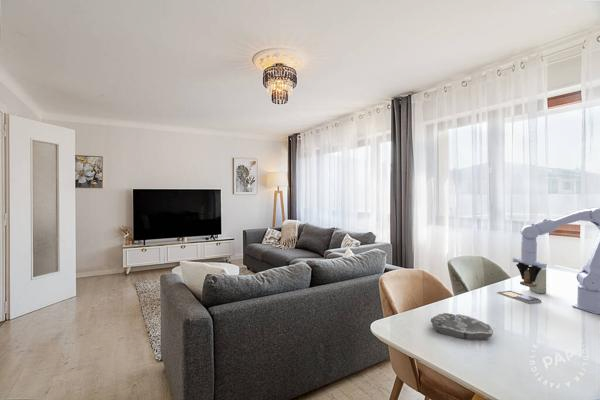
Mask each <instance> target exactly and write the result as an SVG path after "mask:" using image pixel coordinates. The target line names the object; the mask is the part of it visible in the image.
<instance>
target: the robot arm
mask: <svg viewBox="0 0 600 400" xmlns="http://www.w3.org/2000/svg"><path fill="white" fill-rule="evenodd" d="M578 221H583V222H590V223H592V224H594V225H595V226H596V227H597V229H598V230H599V231H600V208H599V207H590V208H588V209H582V210H579V211H575V212H572V213H570V214H568V215H565V216H561V217H559V218H557V219H552V218H548V219H547V218H543V219H542V220H541V221H538V222H536V223H533V222H531V223H530V225H525V226H523V227H522V228H521V230H520V234H521V250H520V251H521V258H518V257H512V263H516V264H515V265H516V267H517V269H518V271H519V273H520V277H521V280H522V281H524V271H525V270H527V269H529V272H530V282H535V280H536V277H537V275H538V273H539V272H540V270H541V269H546V270H547V263H544V262H543V263H542V262H540V261H537V257H538V256H537V254H538V253H537V252H538V251H537V250H538V249H537V248H538V244H537V243H538V242H537V238H538V237H539V236H543V235H546V234H549V233H552V232H555V231H557V230H558V228H559V227H562V226H565V225H568V224H572V223H576V222H578ZM576 280H577V282H578V283H579V284H578V285H577V298H576V299H577V301H576V302H577V303H576V304H572V305H571V306H572V307H574V308H576V309H580V310H582V311H586V312H590V313H592V314H596V315H600V232H599V234H598V236H597V239H596V241H595V244H594V246H593V248H592V250H591V253H590V255H589V259H588V260H587V263H586V265H584V266H583V267H582V270H580V271H579V272H578V273H577V275H576Z"/></svg>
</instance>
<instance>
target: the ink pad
mask: <svg viewBox="0 0 600 400" xmlns="http://www.w3.org/2000/svg"><path fill="white" fill-rule="evenodd" d="M515 300H518V301H522V302H524V303H527V304H537V303H539V304H540V303H542V299H540V298H537V297H534V296H532V295H529V294H528V295H527V294H522V295H521V296H515Z"/></svg>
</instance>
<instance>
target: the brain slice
mask: <svg viewBox="0 0 600 400" xmlns="http://www.w3.org/2000/svg"><path fill="white" fill-rule="evenodd" d="M430 323H431V324H432V327H433V328H434V329H435V331H437V332H438V333H440V334H442V335H444V336H445V335H446V336H450V337H453V338H457V339H465V340H469V341H473V340H474V341H475V340H477V341H486V340H488V339H489V338H491V337H492V335H493V333H494V330H493V329H492V327H491V325H489V323H488V324H487V323H485V322H483V321H482V320H480V319H476V318H474V317H472V316H470V315H469V316H468V315H464V314H459V313H458V314H453V313H447V312H446V313H445V312H443V313H439V314H437V315H435V316H434V317H431V318H430Z"/></svg>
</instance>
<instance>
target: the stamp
mask: <svg viewBox="0 0 600 400" xmlns="http://www.w3.org/2000/svg"><path fill="white" fill-rule="evenodd" d="M519 284H520V285H521V286H525V287H528V288H530V287H533V286H537V284H536V283H533V282H530V272H529V268H528V269H527V270H525V271H524V280H522V281H519Z"/></svg>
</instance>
